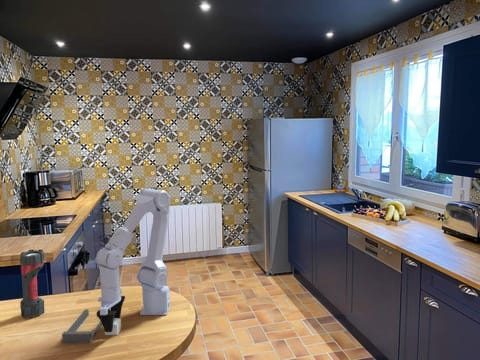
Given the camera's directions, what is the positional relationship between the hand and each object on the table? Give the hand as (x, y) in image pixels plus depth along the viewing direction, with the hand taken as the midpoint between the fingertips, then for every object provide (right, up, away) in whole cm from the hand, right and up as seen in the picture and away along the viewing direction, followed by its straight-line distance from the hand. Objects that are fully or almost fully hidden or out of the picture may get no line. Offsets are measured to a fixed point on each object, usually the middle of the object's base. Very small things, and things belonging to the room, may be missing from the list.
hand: (112, 325), depth 121 cm
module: (0, -2, 0) cm, 2 cm away
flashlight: (-31, -1, +12) cm, 33 cm away
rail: (-9, -2, +3) cm, 10 cm away
